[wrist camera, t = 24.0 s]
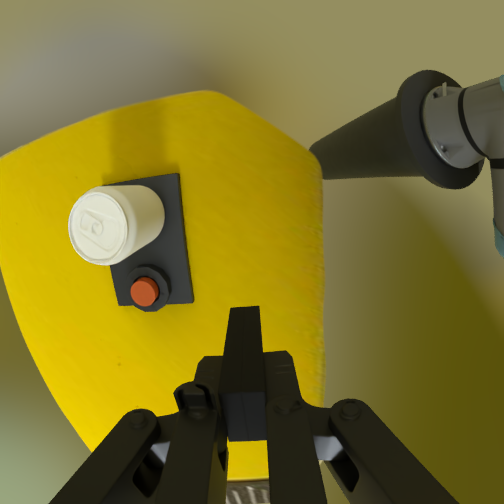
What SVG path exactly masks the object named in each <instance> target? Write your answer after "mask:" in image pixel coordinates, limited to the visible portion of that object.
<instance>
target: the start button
mask: <svg viewBox="0 0 504 504" xmlns="http://www.w3.org/2000/svg"><path fill="white" fill-rule="evenodd" d="M158 294H159V289H158V286H157V284H156V283H155V281H154V280H152V279H151V278H148V277H142V278H140V279H138V280H137V281H136V282H135V283H134V284H133V285H132V287H131V296H132V299H133V300H134V301H135V302H136V303H137V304H138V305H141V306H149V305H151V304H152V303H153V302H154V301H155V299H156V298H157V296H158Z"/></svg>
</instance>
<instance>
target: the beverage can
mask: <svg viewBox="0 0 504 504" xmlns="http://www.w3.org/2000/svg"><path fill="white" fill-rule="evenodd" d="M164 219H165V212H164V207H163V204H162V202H161V200H160V198H159V197H158V195H157V194H156V193H155V192H154V191H153V190H151V189H149V188H147V187H145V186H140V185H125V186H99V187H95V188H92V189H90V190H89V191H87V192H86V193H84V194H83V195H82V196H81V197H80V198H79V199H78V200H77V202H76V203H75V204H74V206H73V208H72V210H71V212H70V216H69V222H68V230H69V236H70V240H71V242H72V245H73V247H74V248H75V250H76V251H77V253H78V254H79V255H80V256H81V257H82V258H83V259H85V260H86V261H88V262H91V263H94V264H99V265H113V264H116V263H118V262H120V261H122V260H123V259H125V258H127V257H128V256H130V255H131V254H133V253H134V252H136V251H137V250H139V249H140V248H142V247H144V246H145V245H147V244H148V243H150V242H151V241H153V240H154V239H155V238H156V237H157V236H158V235H159V233H160V232H161V230H162V228H163V224H164Z"/></svg>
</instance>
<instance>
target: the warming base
mask: <svg viewBox="0 0 504 504" xmlns="http://www.w3.org/2000/svg"><path fill="white" fill-rule="evenodd" d="M125 185H140V186H145V187H147V188H149V189H151V190H153V191H154V192H155V193H156V194H157V195H158V197H159V198H160V200H161V202H162V204H163V207H164V212H165V219H164V224H163V228H162V230H161V232H160V233H159V235H158V236H157V237H156V238H155V239H154V240H153V241H151V242H150V243H148V244H147V245H145V246H144V247H142V248H140V249H139V250H137V251H136V252H134V253H133V254H131V255H130V256H128V257H127V258H125V259H123V260H122V261H120V262H118V263H116V264H113V265H110V269H111V274H112V278H113V283H114V288H115V292H116V296H117V301H118V305H119V306H131V305H134V306H135V307H137V308H138V309H140V310H143V311H145V312H155V311H158V310H159V309H161V308H162V307H164V306H165V305H166V304H186V303H193V302H194V295H193V289H192V282H191V275H190V268H189V261H188V253H187V245H186V237H185V228H184V219H183V210H182V199H181V188H180V176H179V174H178V173H175V174H167V175H161V176H154V177H148V178H142V179H136V180H130V181H124V182H119V183H114V184H108V185H103V186H125ZM142 277H148V278H151V279H152V280H154V281H155V283H156V284H157V286H158V289H159V294H158V296H157V298H156V299H155V301H154V302H153V303H152V304H151V305H149V306H141V305H138V304H137V303H136V302H135V301H134V300H133V299H132V296H131V287H132V285H133V284H134V283H135V282H136V281H137V280H138V279H140V278H142Z"/></svg>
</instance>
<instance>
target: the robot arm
mask: <svg viewBox="0 0 504 504" xmlns="http://www.w3.org/2000/svg"><path fill="white" fill-rule="evenodd" d="M419 118H420V125H421V129H422V132H423V135H424V138H425V140H426V143H427V144H428V146H429V148H430V150H431V151H432V153H433V154H434V155H435V156H436V158H437V159H438V160H439V161H441V162H442V163H443V164H445V165H446V166H448V167H451V168H467V167H470V166H471V165H473V164H475V163H477V162H478V161H480V160H482V159H484V158H485V157H487V159H488V160H489V161H490V168H491V177H492V187H493V188H492V189H493V205H494V218H493V225H494V231H495V246H496V248H497V250H498V252H499V254H500V255H501V256H502V257H503V258H504V75H501V76H500V77H498V78H494V79H491V80H488V81H485V82H482V83H479V84H476V85H473V86H470V87H467V88H457V87H447V86H446V82H445V83H443V86H439V87H436V88H433V89H431V90H429V91H428V92H426V93H425V95H424V96H423V98H422V100H421V103H420V109H419ZM173 394H174V397H175V400H176V403H177V406H178V408H179V412H176V413H174V414H170V415H165V416H159V417H156V415H155V414H154V413H153V412H152V411H150V410H148V409H134V410H132V411H130V412H128V413H126V414H125V415H124V416H123V417H122V418H121V419H120V421H119V422H118V423H117V424H116V425H115V427H114V428H113V429H112V430H111V431H110V432H109V434H108V435H107V436H106V437H105V438H104V440H103V441H102V442H101V443H100V444H99V445H98V447H97V448H96V449H95V450H94V451H93V452H92V454H91V455H90V456H89V457H88V458H87V460H86V461H85V462H84V463H83V464H82V466H81V467H80V468H79V469H78V470H77V471H76V472H75V474H74V475H73V476H72V477H71V478H70V479H69V481H68V482H67V483H66V484H65V485H64V486H63V488H62V489H61V490H60V491H59V492H58V493H57V495H56V496H55V497H54V498H53V499H52V500H51V501H50V503H49V504H225V503H226V487H227V471H228V456H229V452H228V447H227V436H228V440H229V442H235V441H260V440H267V451H268V468H269V486H270V504H327V499H326V494H325V489H324V485H323V480H322V475H321V471H320V466H319V461H318V460H324V462H325V464H326V465H327V467H328V469H329V470H330V472H331V474H332V475H333V477H334V478H335V480H336V482H337V483H338V485H339V486H340V488H341V490H342V491H343V493H344V494H345V496H346V498H347V499H348V500H349V502H350V504H459V503H458V502H457V501H456V500H455V499H454V498H453V497H452V496H451V495H450V494H449V493H448V491H447V490H446V489H445V488H444V487H443V486H442V485H441V484H440V483H439V482H438V481H437V480H436V479H435V478H434V477H433V476H432V475H431V473H430V472H429V471H428V470H427V469H426V468H425V467H424V466H423V465H422V464H421V463H420V462H419V461H418V460H417V459H416V457H415V456H414V455H413V454H412V453H411V452H410V451H409V450H408V449H407V448H406V447H405V446H404V445H403V443H402V442H401V441H400V440H399V439H398V438H397V437H396V436H395V435H394V434H393V433H392V432H391V430H390V429H389V428H388V427H387V426H386V425H385V424H384V423H383V422H382V421H381V419H380V418H379V417H378V416H377V415H376V414H375V413H374V412H373V411H372V410H371V408H370V407H369V406H368V405H366V404H365V403H364V402H363V401H360V400H357V399H344V400H340V401H338V402H337V403H335V404H334V405H333V406H332V407H331V408H321V407H315V406H312V405H310V404H308V403H306V402H305V401H304V400H303V399H302V396H301V393H300V389H299V385H298V380H297V376H296V372H295V367H294V363H293V358H292V356H291V355H290V354H289V353H288V352H287V351H286V350H285V351H275V352H263V347H262V334H261V321H260V309H259V306H249V307H235V308H230V314H229V320H228V327H227V333H226V340H225V347H224V353H223V356H204V358H203V359H202V360H201V361H200V362H199V363H198V366H197V370H196V373H195V379H194V381H192V382H187V383H184V384H182V385H180V386H179V387H177V388H176V390H175V391H174V393H173Z"/></svg>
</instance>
